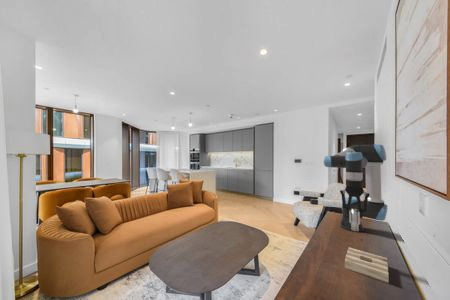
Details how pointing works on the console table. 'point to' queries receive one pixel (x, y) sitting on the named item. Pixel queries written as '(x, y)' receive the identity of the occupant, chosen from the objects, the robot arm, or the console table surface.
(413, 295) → the console table surface
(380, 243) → the console table surface
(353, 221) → the pin
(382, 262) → the bore block
